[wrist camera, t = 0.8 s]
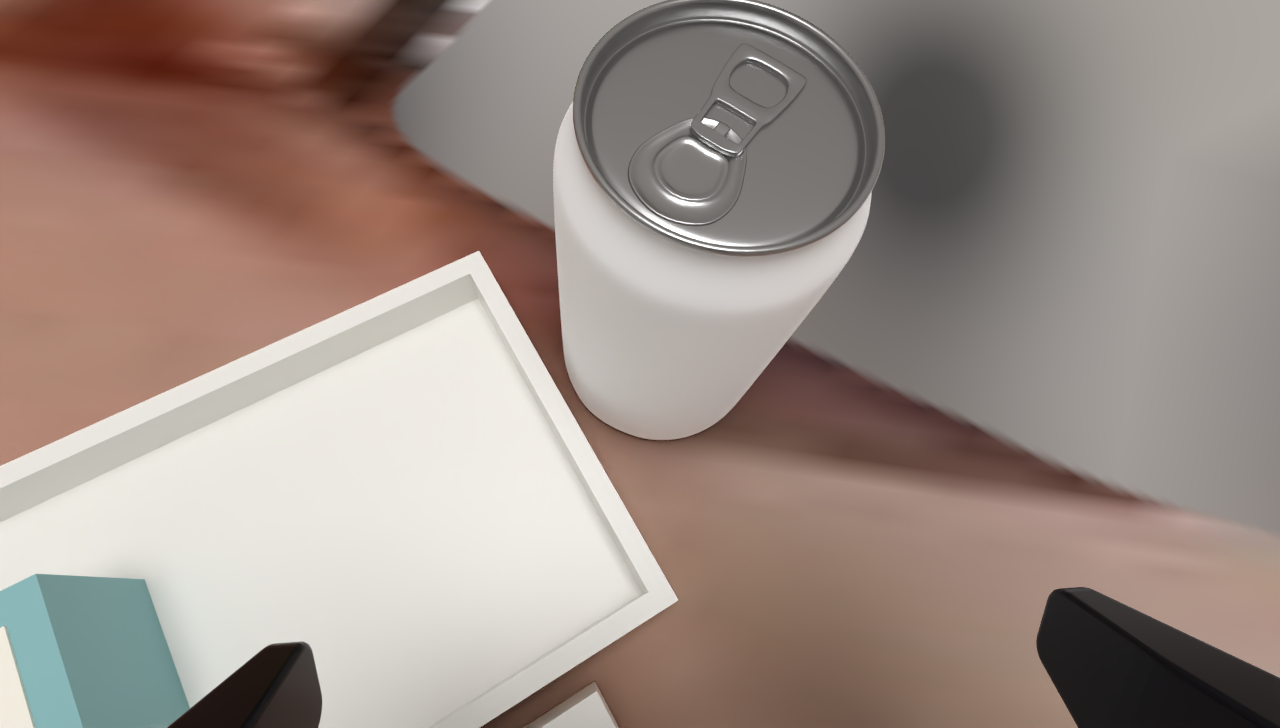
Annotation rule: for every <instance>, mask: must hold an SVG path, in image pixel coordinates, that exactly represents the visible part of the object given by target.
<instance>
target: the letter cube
mask: <svg viewBox="0 0 1280 728" xmlns="http://www.w3.org/2000/svg"><path fill="white" fill-rule="evenodd" d="M189 709H190V707H189V704H188V701H187V698H186V695H185V692H184V690H183V687H182V684H181V681H180V678H179V675H178V673H177V670H176V667H175V664H174V661H173V658H172V656H171V653H170V650H169V647H168V644H167V641H166V639H165V636H164V633H163V630H162V627H161V624H160V622H159V619H158V616H157V613H156V610H155V607H154V605H153V602H152V599H151V596H150V593H149V590H148V588H147V585H146V582H145V579H129V578H109V577H90V576H71V575H52V574H34V575H32V576H30V577H28V578H26V579H24V580H22V581H20V582H18V583H16V584H14V585H12V586H10V587H8V588H6V589H3V590H1V591H0V728H167V727H168V726H169V725H170V724H172V723H173V722H174V721H175V720H176V719H178V718H179V717H180V716H181V715H183V714H184V713H185V712H186V711H187V710H189Z"/></svg>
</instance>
